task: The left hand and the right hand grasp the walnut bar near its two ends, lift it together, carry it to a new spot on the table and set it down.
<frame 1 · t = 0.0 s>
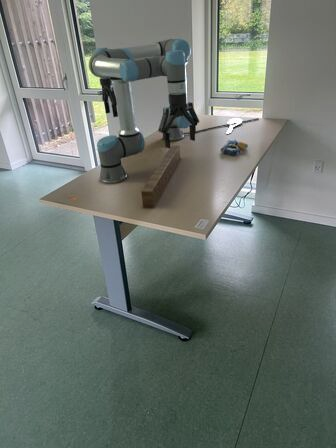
left hand: (180, 143, 147), 28 cm above the table, tool pointing down, fingers open, 13 cm apart
right hand: (111, 114, 206), 28 cm above the table, tool pointing down, fingers open, 13 cm apart
bar: (164, 179, 184), on the table
spoon: (232, 127, 260), on the table
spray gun: (234, 150, 215), on the table
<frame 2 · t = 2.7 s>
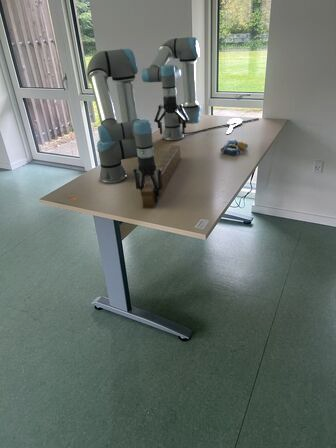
left hand: (151, 201, 162), 1 cm above the table, tool pointing down, fingers closed on bar, 5 cm apart
right hand: (172, 133, 197), 18 cm above the table, tool pointing down, fingers open, 13 cm apart
bar: (164, 179, 184), on the table, touching left hand
everything else where it was.
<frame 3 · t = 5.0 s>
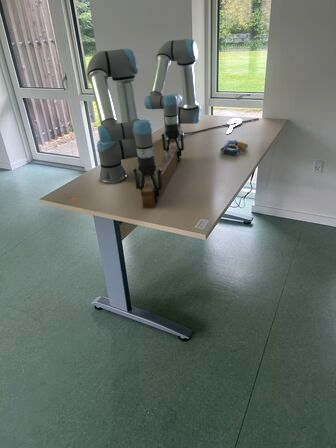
left hand: (151, 201, 162), 1 cm above the table, tool pointing down, fingers closed on bar, 5 cm apart
right hand: (174, 161, 206), 1 cm above the table, tool pointing down, fingers closed on bar, 5 cm apart
bar: (164, 179, 184), on the table, touching right hand, left hand
everything else where it was.
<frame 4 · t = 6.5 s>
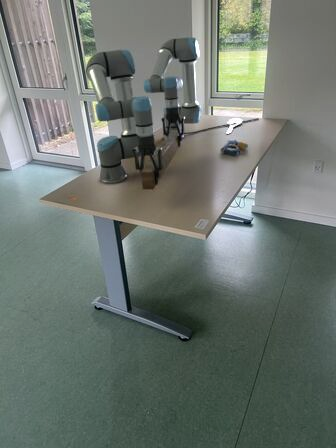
left hand: (151, 183, 158), 10 cm above the table, tool pointing down, fingers closed on bar, 5 cm apart
right hand: (174, 146, 202), 10 cm above the table, tool pointing down, fingers closed on bar, 5 cm apart
bar: (164, 163, 180), point 9 cm above the table, touching right hand, left hand
everything else where it was.
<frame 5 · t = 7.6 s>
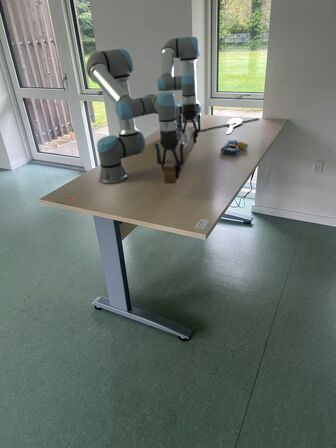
left hand: (172, 177, 161), 10 cm above the table, tool pointing down, fingers closed on bar, 5 cm apart
right hand: (190, 142, 205), 10 cm above the table, tool pointing down, fingers closed on bar, 5 cm apart
bar: (182, 159, 183), point 9 cm above the table, touching right hand, left hand
everything else where it was.
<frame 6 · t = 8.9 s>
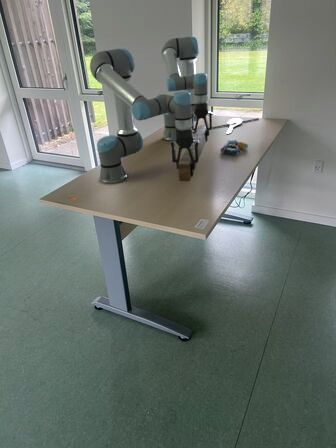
left hand: (186, 175, 164), 9 cm above the table, tool pointing down, fingers closed on bar, 5 cm apart
right hand: (202, 140, 208), 9 cm above the table, tool pointing down, fingers closed on bar, 5 cm apart
bar: (195, 157, 186), point 9 cm above the table, touching right hand, left hand
everything else where it was.
when the left hand's fingers open (2 cm above the table, at t = 10.1 s): bar drops 1 cm, on the table.
when the right hand's fingers open (2 cm above the table, at t = 10.1 s): bar drops 1 cm, on the table.
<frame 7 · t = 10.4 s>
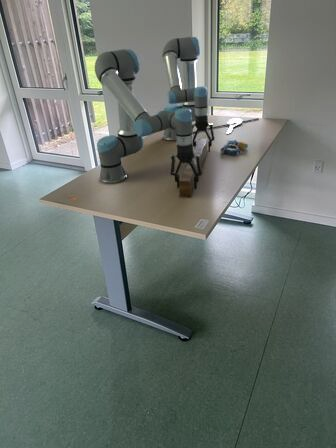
left hand: (187, 187, 167), 3 cm above the table, tool pointing down, fingers open, 8 cm apart
right hand: (202, 151, 212), 3 cm above the table, tool pointing down, fingers open, 8 cm apart
bar: (195, 171, 191), on the table
everything else where it was.
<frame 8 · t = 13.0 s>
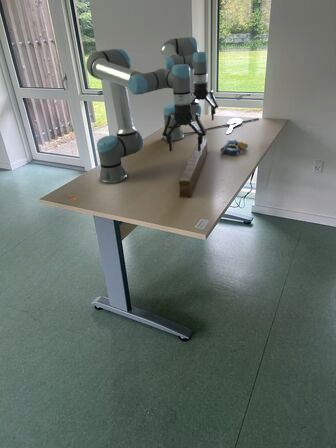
left hand: (185, 150, 157), 22 cm above the table, tool pointing down, fingers open, 13 cm apart
right hand: (201, 120, 202), 22 cm above the table, tool pointing down, fingers open, 13 cm apart
nothing on the table moved.
at the end: bar inside the target area (0.2 cm from its centre), on the table; bar tilted 0°; bar never tilted more than 1° during the clip; both hands held the bar at the same time; the left hand is holding nothing; the right hand is holding nothing; bar at rest at the end (0.0 cm/s) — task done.
